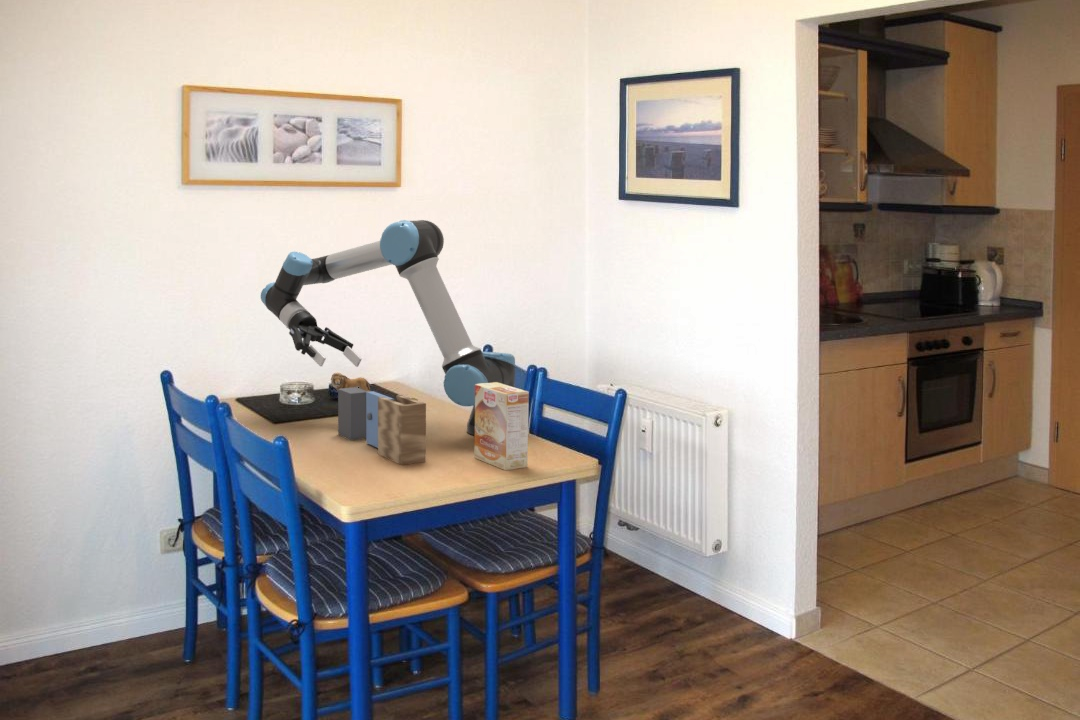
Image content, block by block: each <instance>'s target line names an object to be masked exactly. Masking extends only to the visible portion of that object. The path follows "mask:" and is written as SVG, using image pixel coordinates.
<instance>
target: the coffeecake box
mask: <svg viewBox="0 0 1080 720" xmlns="http://www.w3.org/2000/svg"><path fill="white" fill-rule="evenodd" d="M529 398H530V391H528V390H524V389H521V388H518V387H516V386H515V387H511V386H508V385H505V384H501V383H498V382H493V383H480V384H475V435H474V449H473V450H474V451H473V452H474V453H473V455H474V456H473V459H476V460H479V461H481V462H483V463H486V464H488V465H491V466H494V467H496V468H498V469H501V470H503V471H511V470H512V471H513V470H516V469H525V468H528V461H529V460H528V456H529V455H528V454H529V453H528V451H529V448H528V446H529V445H528V444H529V405H530V404H529Z"/></svg>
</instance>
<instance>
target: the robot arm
mask: <svg viewBox="0 0 1080 720" xmlns="http://www.w3.org/2000/svg"><path fill="white" fill-rule="evenodd" d="M444 240H445V238H444V234H443V232H442V230H441V228H439V226H438V225H437V224H435V223H434V222H432V221H430V220H424V219H421V220H420V219H418V220H405V219H403V220H400V221H395V222H392V223H390V224H389V225H388V226H386V228H385V229H383V232H382V234H381V238H380V240H378V241H373V242H370V243H367V244H363V245H360V246H359V245H358V246H357V247H352V248H349V249H346V250H342V251H338V252H336V253H331V254H328V255H323V256H320V257H316V258H311V257H309V256H308V255H306V254H304V253H302V252H298V251H290V252H289V253H288V255H287V256H286V259H285V260H284V261H283V263H282V266H281V268H280V270H279V272H278V275H277V277H276V280H275V281H273V282H269V283H268V284H266V285H265V287H264V288H263V289H262V290H261V292H260V300H261V302H262V303H263V305H264V306H265V307H266V309H267V310H268V311H270V313H272V314H273V315H274V316H275V317H277V319H278V320H279V321H280V322H281V323H282V324H284V326H285V327H286V328H287V329H288V330H289V332H288V334H289V335H290V336H291V338H292V341H293V345H294V348H295V350H296V351H298V352H300V351H301V352H300V354H301V355H306V354H307V355H308V356H309V357H310V358H311V359H312V360H313V361H314V362H315V363H316V364H317V365H318V366H319V367H323V365H324V364H325V362H326V359H327V357H326V356H324V355H323V353H321V351H319V349H318V348H317V347H315V346H314V345H313V344H311V342H318V344H322V345H328V346H329V347H331V348H334V349H335V350H338V351H340V352H341V353H342V354H343V356H345V358H346V359H347V360H349V362H350V363H352V364H353V365H354V366H355V367H356V368H358V367H359V366H360V364H361V362H362V360H363V358H361V356H359V355H358V353H356V352H355V350H353V347H354V343H352V342H350V341H349V340H347V339H345V338H343V336H340V335H338V334H337V333H335V332H334V331H332V330H331V329H330V328H329V327H325V328H324V329H322V328H321V327H319V325H318V321H317V318H315V316H313V315H312V313H310V312H309V310H307V309H306V308H305V307H304V306H303V305H302V304H301V303H300V302H299V301H298V300H297V298H298V296H299V294H300V293H301V290H302V288H303V286H307V285H309V286H310V285H317V284H327V283H331V282H334V281H335V280H338V279H341V278H346V277H350V276H352V275H357V274H360V273H364V272H368V271H372V270H376V269H380V268H383V267H387V266H391V265H393V266H395V269H396V270H397V273H398V275H399V277H401V278H402V279H406V280H407V281H408V283H409V285H410V287H411V290H412V292H413V294H414V296H415V298H416V301H417V303H418V305H419V307H420V309H421V311H422V313H423V316H424V317H425V321H426V322H427V324H428V326H429V329H430V331H431V333H432V335H433V337H434V340H435V342H436V344H437V346H438V348H439V350H440V352H441V355H442V357H443V362H442V364H441V368H442V370H443V373H444V380H443V381H442V382H443V388H444V392H445V394H446V396H447V397H448V398H449V400H450V401H452V402H453V403H454V404H456V405H458V406H460V407H472V408H471V412H470V415H469V418H468V419H467V420H468V421H467V424H466V425H467V426H466V433H468V434H469V435H472V436H475V384H480V383H493V382H498V383H501V384H505V385H508V386H511V387H515V388H516V367H517V366H516V357H515V356H514V355H513V354H511V353H509V352H508V353H506V352H493V351H482V348H481V347H477V346H475V345H474V344H473V343H472V340H471V338H470V337H469V335H468V332H467V330H466V328H465V326H464V324H463V322H462V321H463V320H461V317H460V315H459V313H458V311H457V308H456V306H455V304H454V302H453V300H452V297H451V296H450V293H449V291H448V289H447V287H446V285H445V283H444V280H443V278H442V276H441V274H440V272H439V269H438V267H437V265H438V263H439V255H440V254H441V253H442V250H443V248H444V243H445V241H444Z"/></svg>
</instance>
